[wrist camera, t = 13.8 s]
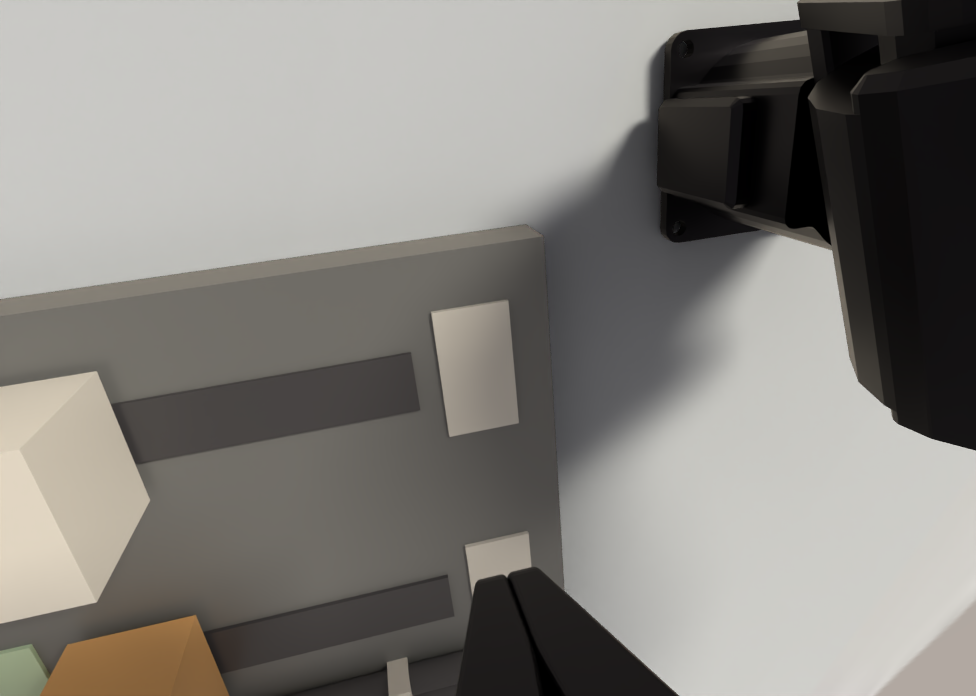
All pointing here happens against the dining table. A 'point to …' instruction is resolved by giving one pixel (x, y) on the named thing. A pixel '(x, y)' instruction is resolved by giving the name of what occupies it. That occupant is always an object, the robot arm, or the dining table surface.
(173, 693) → the block
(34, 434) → the block
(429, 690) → the cord bundle
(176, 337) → the breaker panel
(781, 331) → the dining table surface
